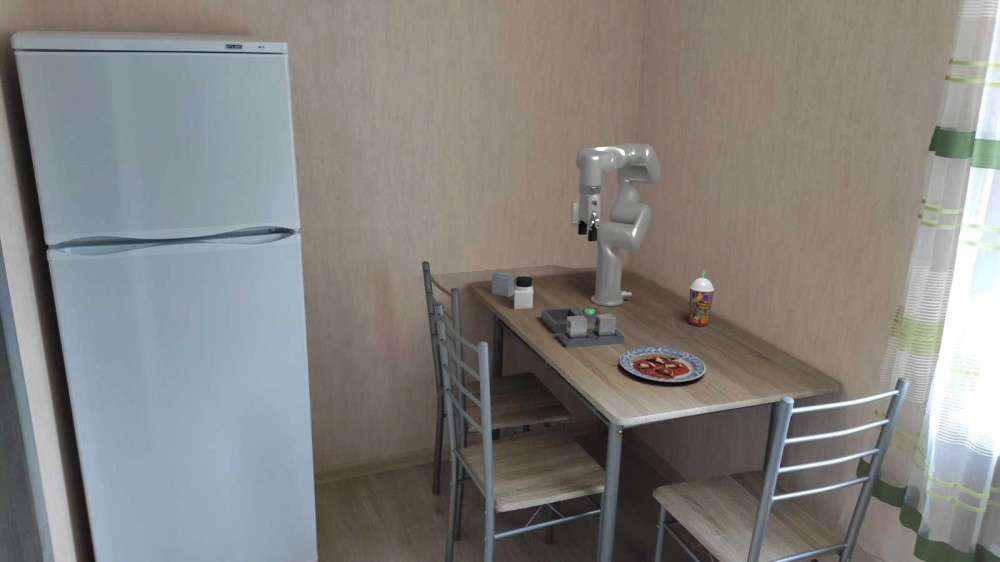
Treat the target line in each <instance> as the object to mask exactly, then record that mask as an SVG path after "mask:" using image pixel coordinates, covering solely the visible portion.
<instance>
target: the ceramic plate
mask: <svg viewBox="0 0 1000 562" xmlns="http://www.w3.org/2000/svg"><path fill="white" fill-rule="evenodd" d="M644 355H645V356H646V355H652V356H646V357H645V358H640V359H638V360H636V361H633V360H634V359H635V358H637V357H640V356H641V357H642V356H644ZM654 355H662V356H661V357H660V356H654ZM667 356H670V357H667ZM673 357H674V358H673ZM662 358H664V359H662ZM619 364H620V365H621V367H622V368H623V369H624V370H625V371H626V372H629V373H630V374H632V375H635V376H637V377H640V378H643V379H646V380H651V381H656V382H664V383H667V382H668V383H682V382H688V381H693V380H696V379H698V378H700V377H702V376H703V375H704V374H705V373H706V371H707V370H706V369H707V368H706V365H705V363H704V362H703V360H701V359H700V358H698V357H697V356H696V355H695V356H694V355H693V354H691V353H688V352H685V351H683V350H679V349H673V348H668V347H657V346H648V347H643V346H642V347H637V348H633V349H629V350H627V351H625V352H623V353H622V354H621V355H620V357H619Z"/></svg>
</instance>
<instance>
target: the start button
mask: <svg viewBox="0 0 1000 562" xmlns="http://www.w3.org/2000/svg"><path fill="white" fill-rule="evenodd" d="M584 309H585V310H584V313H585V314H594V312H595V310H594V309H591V307H588V308H587V307H586V308H584Z"/></svg>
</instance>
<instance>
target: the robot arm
mask: <svg viewBox="0 0 1000 562" xmlns="http://www.w3.org/2000/svg"><path fill="white" fill-rule="evenodd" d="M575 164H576V167H577V168H578V170H579V180H578V181H579V182H578V183H579V184H578V195H579V199H578V200H579V201H578V210H577V211H578V215H577V216H578V221H577V223H578V224H577V225H578V226H577V227H578V228H577V235H578V236H584V235H585V236H586V235H587V241H588V242H596V243H597V244H596V245H597V258H596V259H597V260H596V261H597V262H596V275H595V276H596V277H595V292H594V293H595V294H593V295H592V296H591V297H590V302H591V303H593V304H596V305H598V306H602V307H616V306H617V307H618V306H620V305H623V304H624V298H628V297H632V295H633V294H632V293H633V292H632V291H626V290H622V289H621V283H622V282H621V280H622V271H623V257H622V253H621V252H620V249H622V250H627V251H636V250H638V249H639V248H640V247H641V245H642V243H643V241H644V238H645V236H646V233H647V231H648V229H649V227H650V223H651V220H652V209H651V207H650V206H649V205H647V204H646V203H641V202H640V193H639V191H638V189H637V188H636V186H635V185H634V183H637V184H648V185H654V184H657V183H658V182H659V181H660V179H661V176H662V167H661V164H660V161H659V158H658V155H657V153H656V150H655V149H654V148H653V146H652V145H650V144H648V143H641V142H639V143H637V142H623V143H619V144H615V145H605V146H596V147H595V146H594V147H586V148H583V149H581V150H580V151H579V152H578V153H577V155H576V159H575ZM615 169H616V170H617V171H616V175H617V176H616V177H617V186H618V193H617V196H616V198H615V199H614V202H613V204H612V207H611V209H610V211H609V215H608V218H609V219H608V220H609V221H603V222H602V223H600V222H601V197H600V195H601V189H602V174H611V173H612V172H614V171H615ZM639 202H640V203H639Z"/></svg>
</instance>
